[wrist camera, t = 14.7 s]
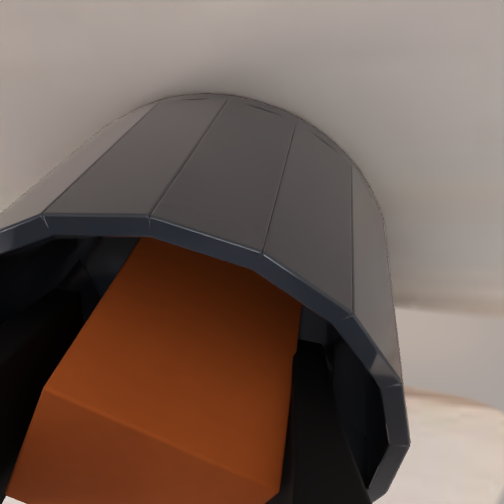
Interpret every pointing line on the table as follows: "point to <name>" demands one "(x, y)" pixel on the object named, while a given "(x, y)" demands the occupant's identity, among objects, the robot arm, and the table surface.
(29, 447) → the orange block
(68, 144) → the table surface
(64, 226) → the desk cup
